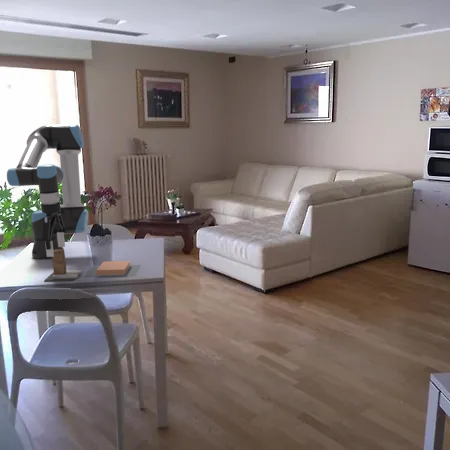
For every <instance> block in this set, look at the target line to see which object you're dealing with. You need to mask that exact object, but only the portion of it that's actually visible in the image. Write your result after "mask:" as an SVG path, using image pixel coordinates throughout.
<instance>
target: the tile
mask: <svg viewBox="0 0 450 450" xmlns="http://www.w3.org/2000/svg"><path fill="white" fill-rule="evenodd" d="M131 265H132V264H131V260H118V261H117V260H114V261H113V260H112V261H103V262H102V263H101V264H100V265H99V266H100V267H99V268H98V269H97V276H102V275H125V274H126V273H127V271H128V269H129V268H130V266H131Z"/></svg>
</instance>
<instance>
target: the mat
mask: <svg viewBox="0 0 450 450" xmlns="http://www.w3.org/2000/svg"><path fill="white" fill-rule="evenodd" d="M130 265H131V266H130V268H129V269H128V271H127V273H126V274H125V275H102V276H97V269H98V268H99V267H100V265H93V266H92V267H91V268H90V269H89V270H88V271H87V273H85V275H84V276H83V278H100V277H101V278H104V277H109V278H111V277H135V276H136V275H137V273H138V272H139V270H140V268H141V266H142V264H130Z"/></svg>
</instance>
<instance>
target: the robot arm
mask: <svg viewBox="0 0 450 450" xmlns="http://www.w3.org/2000/svg"><path fill="white" fill-rule="evenodd" d="M84 141H85V139H84V134H83V132H82V129H81V127H80V126H79V125H78V124H75V123H72V124H71V123H65V124H62V123H61V124H46V125H42V126H40V127H38V128H36V129H35V130H34V131H32V132H31V133H30V134H29V136H28V138H27V140H26V147H25V149H24V151H23V153H22V156H21V158H19V159H20V160H19V161H18V164H17V166H16V167H12V168H9V169H7V171H6V180H7V183H8V185H10V186H12V187H26V186H28V187H29V186H38V193H39V201H40V203H41V204H40V207H41V209H40V210H36V211H34V212H32V214H31V226H32V227H31V228H32V235H33V247H32V249H31V256H32V258H33V259H37V260H48V259H52V257H54V250H57V249H64V248H65V247H66V243H65V235H70V234H75V235H76V234H84V233H85V232H86V231H87V229H88V224H89V210H88V209H86V207H85V205H84V204H83V203H82V197H81V183H80V165H79V162H80V161H79V155H80V153H81V152H82V149H83V148H84V147H85V142H84ZM51 149H52V150H53V149H54V150H56V151H55V152H56V153H57V154H58V155H59V161H60V166H58V165H55V164H51V163H50V164H48V163H47V164H39V163H40V160H41V158H42V156H43V154H44V152H46V151H47V150H51ZM60 183H61V190H62V193H61V194H60V190H59V184H60ZM61 195H62V204H61V202H60V200H61V199H60V197H61ZM64 250H65V249H64Z"/></svg>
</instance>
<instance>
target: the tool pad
mask: <svg viewBox="0 0 450 450" xmlns="http://www.w3.org/2000/svg"><path fill="white" fill-rule="evenodd" d="M53 275H54V271H53V272H51V274H50V275H48V276H47V277H46V278H45V279H43V281H44V282H45V283H47V282H49V283H50V282H73V281H75V280H76V278H60V279H53V277H52V276H53Z"/></svg>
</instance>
